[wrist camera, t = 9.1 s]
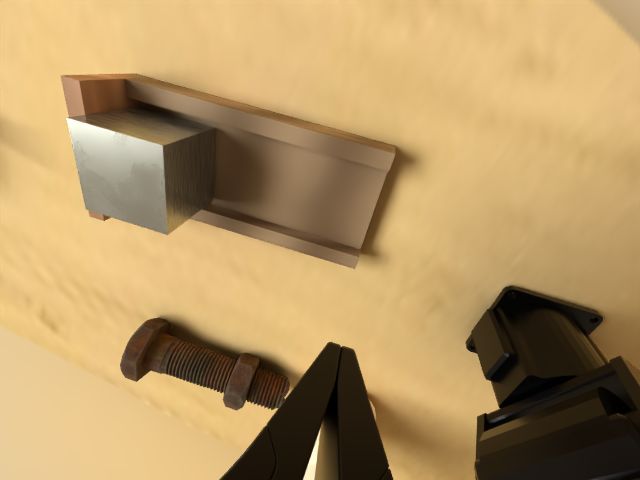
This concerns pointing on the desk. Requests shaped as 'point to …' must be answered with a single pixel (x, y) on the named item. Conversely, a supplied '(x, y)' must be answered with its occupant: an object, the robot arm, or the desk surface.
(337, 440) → the robot arm
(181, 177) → the block
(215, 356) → the bolt
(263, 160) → the track
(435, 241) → the desk surface
